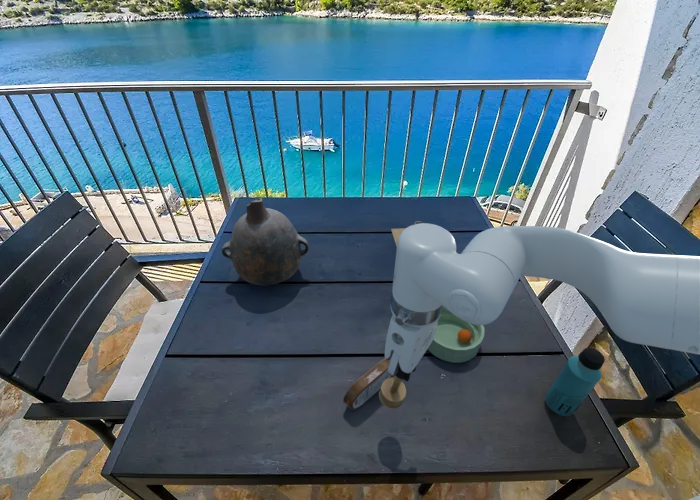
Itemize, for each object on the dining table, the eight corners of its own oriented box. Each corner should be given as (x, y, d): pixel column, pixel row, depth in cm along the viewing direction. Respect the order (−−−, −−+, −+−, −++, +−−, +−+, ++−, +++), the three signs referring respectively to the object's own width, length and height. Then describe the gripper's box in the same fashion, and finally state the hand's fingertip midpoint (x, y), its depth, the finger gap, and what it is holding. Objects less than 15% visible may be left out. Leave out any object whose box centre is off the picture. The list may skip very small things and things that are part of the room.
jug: (290, 246, 129) (280, 171, 110) (318, 280, 114) (312, 200, 96) (224, 270, 118) (201, 191, 100) (246, 310, 104) (224, 228, 85)
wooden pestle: (405, 388, 72) (423, 345, 61) (401, 412, 68) (419, 370, 57) (381, 381, 73) (396, 337, 62) (376, 403, 69) (390, 361, 58)
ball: (464, 347, 92) (468, 336, 91) (453, 339, 95) (456, 329, 93) (472, 342, 95) (475, 332, 93) (461, 335, 97) (464, 324, 96)
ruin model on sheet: (451, 268, 119) (456, 246, 113) (404, 271, 118) (407, 248, 112) (431, 226, 139) (435, 205, 133) (391, 228, 137) (393, 207, 131)
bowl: (487, 334, 97) (492, 320, 94) (466, 374, 88) (471, 361, 84) (435, 309, 105) (439, 295, 101) (411, 344, 95) (413, 330, 91)
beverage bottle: (548, 419, 79) (586, 369, 66) (537, 392, 84) (570, 340, 72) (577, 420, 79) (621, 370, 66) (564, 393, 84) (602, 341, 71)
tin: (387, 369, 89) (389, 349, 83) (396, 378, 87) (399, 358, 82) (342, 408, 81) (342, 388, 76) (351, 418, 79) (351, 399, 74)
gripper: (413, 350, 45) (400, 418, 56) (461, 282, 55) (441, 352, 66) (365, 323, 48) (362, 392, 60) (418, 264, 58) (406, 333, 70)
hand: (404, 371), depth 63 cm, fingers closed on wooden pestle
